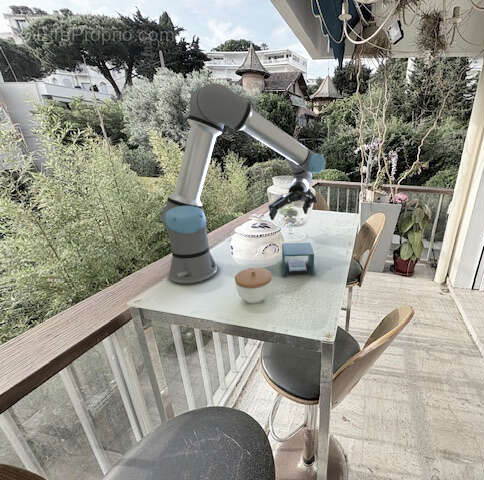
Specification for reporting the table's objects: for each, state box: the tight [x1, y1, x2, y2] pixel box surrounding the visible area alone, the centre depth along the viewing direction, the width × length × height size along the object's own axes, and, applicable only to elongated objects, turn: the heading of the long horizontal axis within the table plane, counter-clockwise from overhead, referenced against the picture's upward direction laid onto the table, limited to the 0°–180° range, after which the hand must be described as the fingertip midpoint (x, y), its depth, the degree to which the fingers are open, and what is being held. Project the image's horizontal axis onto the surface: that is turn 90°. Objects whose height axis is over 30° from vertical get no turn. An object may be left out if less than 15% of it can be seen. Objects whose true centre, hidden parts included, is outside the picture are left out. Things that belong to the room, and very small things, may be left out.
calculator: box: [287, 260, 308, 275], centre depth 101 cm, size 8×6×2 cm
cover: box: [281, 242, 315, 277], centre depth 100 cm, size 11×11×8 cm
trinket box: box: [234, 267, 273, 304], centre depth 80 cm, size 11×11×9 cm
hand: (287, 214), depth 99 cm, fingers open, 13 cm apart
